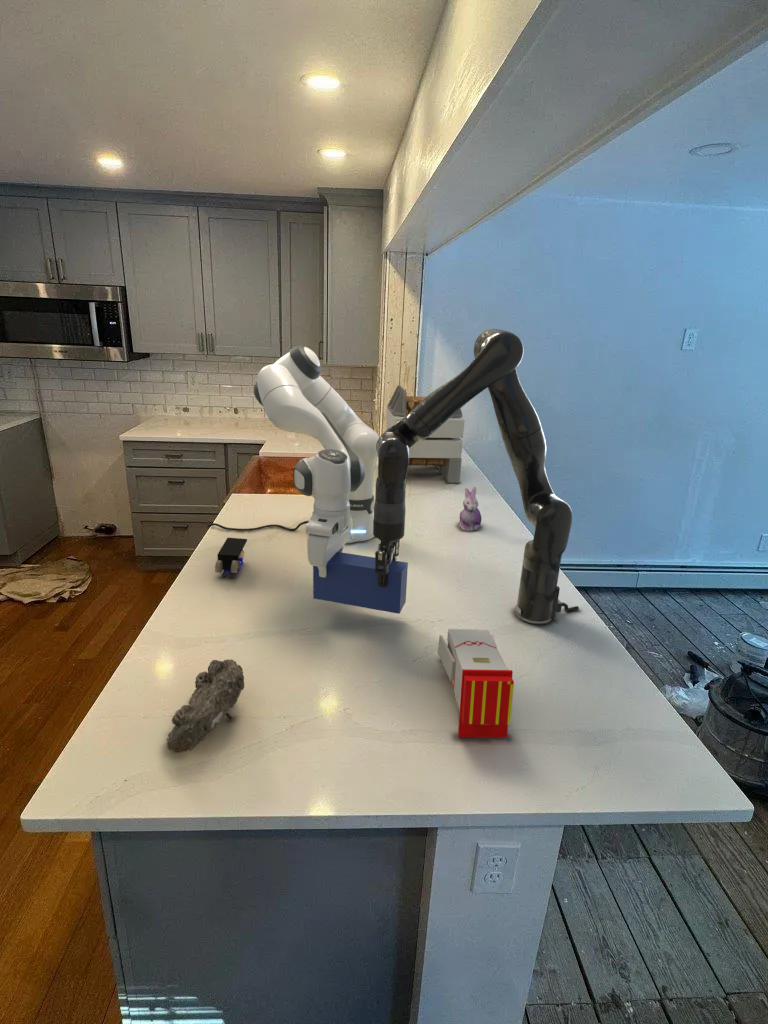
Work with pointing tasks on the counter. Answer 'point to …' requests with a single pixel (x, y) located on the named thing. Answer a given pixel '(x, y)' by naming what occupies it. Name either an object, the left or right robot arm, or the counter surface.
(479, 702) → the toy
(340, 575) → the box
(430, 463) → the grey slatted crate
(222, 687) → the fossil
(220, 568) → the figurine character
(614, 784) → the counter surface
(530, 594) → the right robot arm
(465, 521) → the figurine
